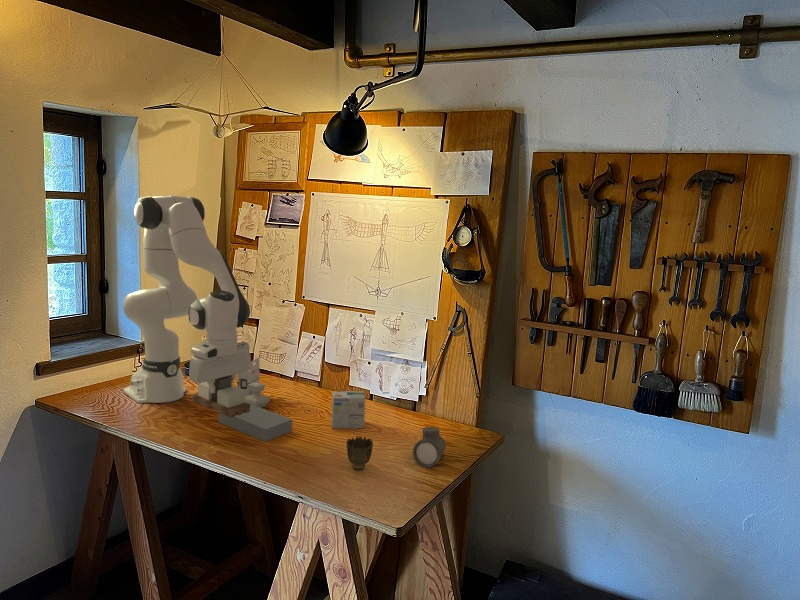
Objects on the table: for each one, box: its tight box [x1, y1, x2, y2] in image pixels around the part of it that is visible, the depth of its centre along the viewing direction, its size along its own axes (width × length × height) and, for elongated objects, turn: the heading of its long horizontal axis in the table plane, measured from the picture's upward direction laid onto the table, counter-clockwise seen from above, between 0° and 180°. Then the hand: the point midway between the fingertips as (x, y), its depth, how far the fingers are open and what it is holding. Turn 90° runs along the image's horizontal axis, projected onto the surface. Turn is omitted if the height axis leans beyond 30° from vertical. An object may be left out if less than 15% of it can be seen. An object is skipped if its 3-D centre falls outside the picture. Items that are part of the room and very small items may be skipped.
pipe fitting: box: [412, 426, 447, 469], centre depth 183 cm, size 12×8×10 cm
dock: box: [218, 403, 293, 442], centre depth 199 cm, size 22×11×4 cm, turn 55°
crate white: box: [197, 382, 211, 400], centre depth 190 cm, size 5×6×4 cm
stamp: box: [245, 382, 271, 408], centre depth 216 cm, size 9×7×8 cm
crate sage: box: [217, 385, 245, 408], centre depth 185 cm, size 5×6×4 cm
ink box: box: [236, 356, 261, 397], centre depth 223 cm, size 9×5×15 cm, turn 168°
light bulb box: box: [331, 390, 366, 430], centre depth 205 cm, size 11×7×11 cm, turn 100°
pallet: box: [192, 376, 250, 418], centre depth 187 cm, size 18×7×9 cm, turn 55°
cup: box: [346, 436, 374, 471], centre depth 174 cm, size 8×7×8 cm
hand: (221, 390), depth 187 cm, fingers closed on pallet, 4 cm apart
